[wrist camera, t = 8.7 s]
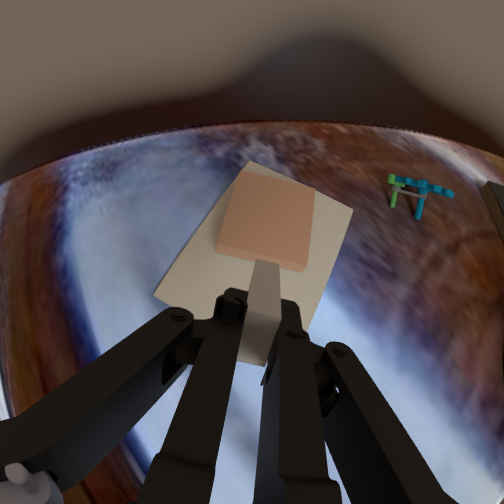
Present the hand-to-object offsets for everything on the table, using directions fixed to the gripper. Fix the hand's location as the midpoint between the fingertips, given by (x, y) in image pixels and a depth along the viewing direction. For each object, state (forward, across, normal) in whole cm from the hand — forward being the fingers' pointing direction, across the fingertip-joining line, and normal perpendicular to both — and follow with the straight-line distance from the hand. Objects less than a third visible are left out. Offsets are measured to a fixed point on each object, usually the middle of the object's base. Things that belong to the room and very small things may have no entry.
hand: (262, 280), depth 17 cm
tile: (+10, 0, -2) cm, 10 cm away
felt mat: (+13, 0, -2) cm, 13 cm away
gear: (+23, +20, +8) cm, 31 cm away
